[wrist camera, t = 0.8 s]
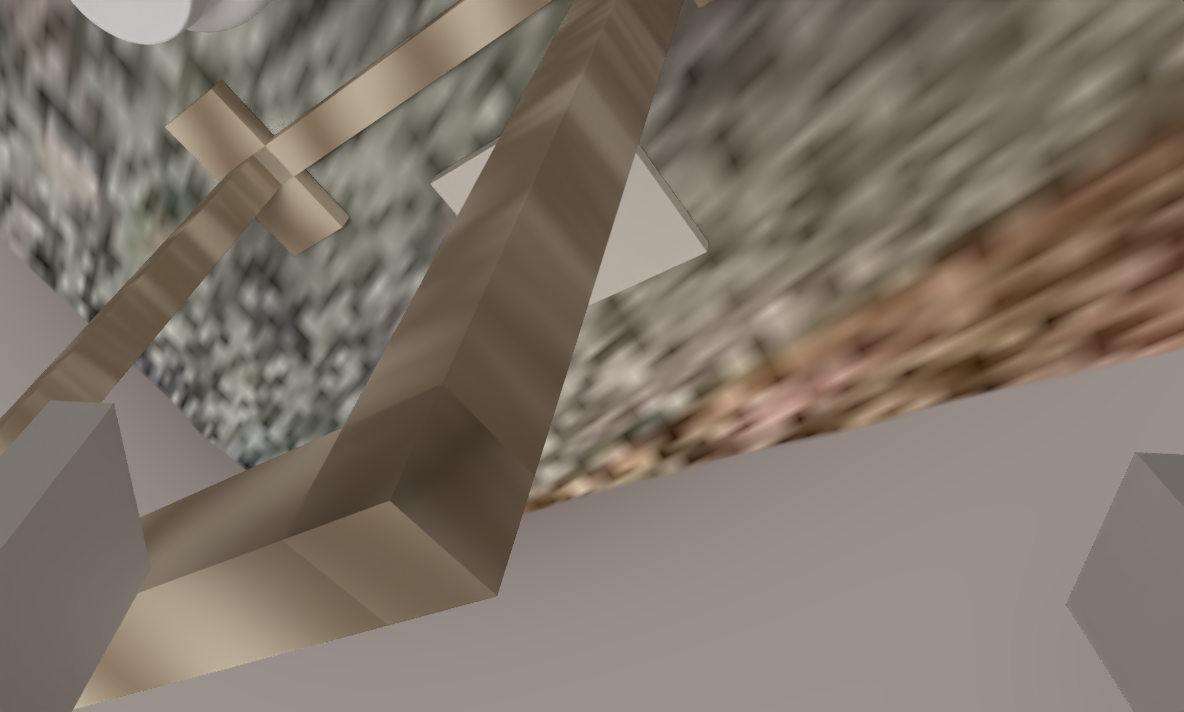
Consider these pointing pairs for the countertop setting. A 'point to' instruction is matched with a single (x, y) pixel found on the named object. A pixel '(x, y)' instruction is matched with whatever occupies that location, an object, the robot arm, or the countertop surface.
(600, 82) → the gate frame
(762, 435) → the countertop surface
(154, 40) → the supplement bottle
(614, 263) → the coaster
